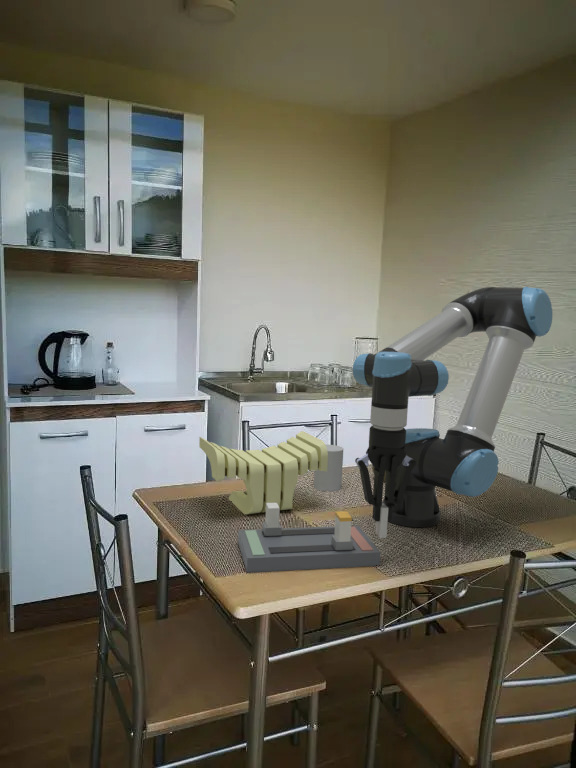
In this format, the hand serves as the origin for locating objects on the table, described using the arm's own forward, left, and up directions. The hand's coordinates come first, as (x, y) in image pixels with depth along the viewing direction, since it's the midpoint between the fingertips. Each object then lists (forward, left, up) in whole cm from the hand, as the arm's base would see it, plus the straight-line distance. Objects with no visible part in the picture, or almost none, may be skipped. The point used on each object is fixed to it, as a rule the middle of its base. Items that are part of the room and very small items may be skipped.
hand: (380, 535), depth 128 cm
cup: (-2, -50, -6) cm, 50 cm away
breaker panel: (+15, -5, -6) cm, 17 cm away
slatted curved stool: (+20, -36, -6) cm, 42 cm away
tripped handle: (+8, 0, -2) cm, 9 cm away
